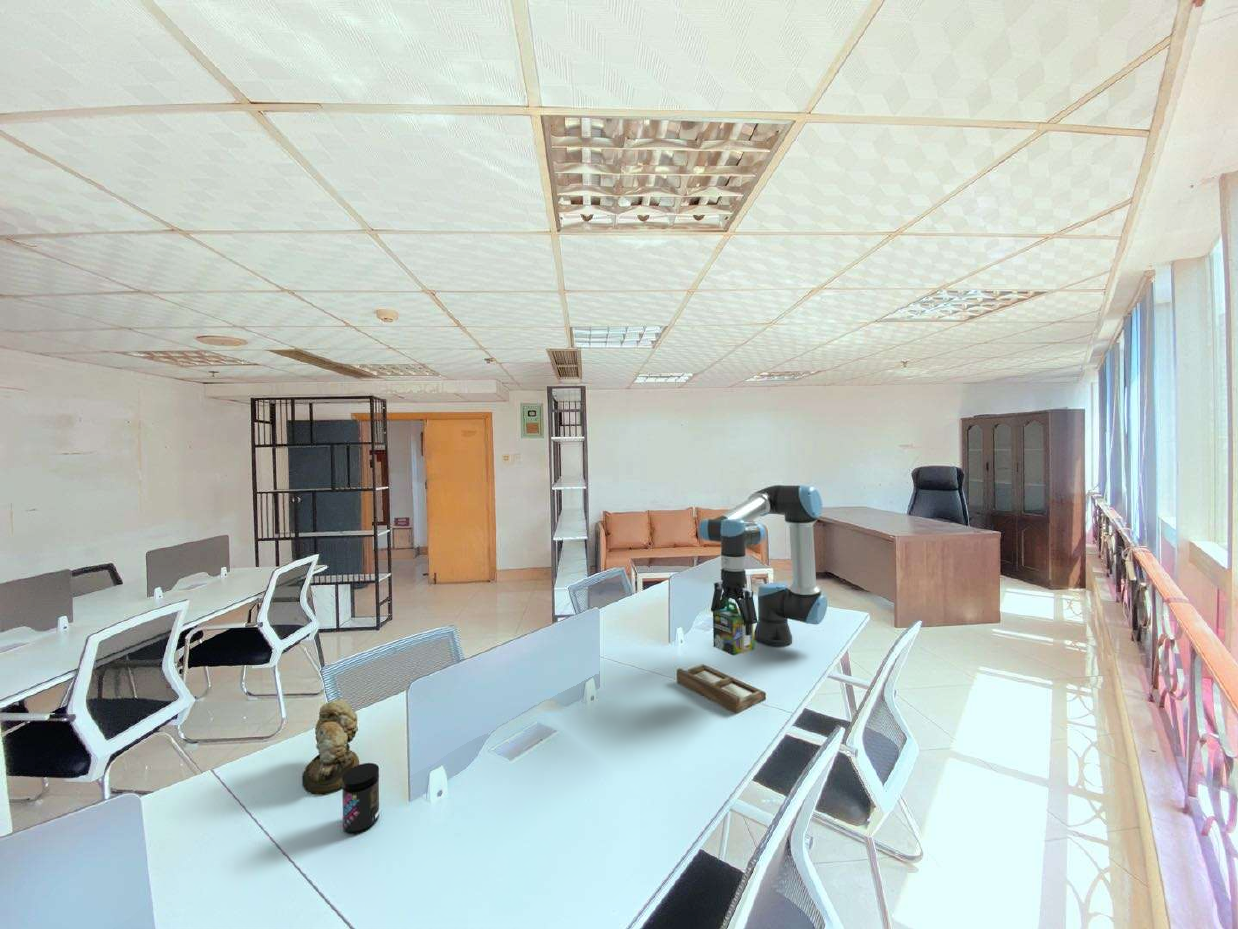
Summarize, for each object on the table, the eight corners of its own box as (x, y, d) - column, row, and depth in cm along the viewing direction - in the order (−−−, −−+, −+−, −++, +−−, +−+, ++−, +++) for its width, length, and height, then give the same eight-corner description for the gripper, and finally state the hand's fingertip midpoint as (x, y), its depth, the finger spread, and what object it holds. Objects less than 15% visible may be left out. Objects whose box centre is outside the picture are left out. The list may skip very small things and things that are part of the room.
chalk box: (754, 650, 148) (754, 602, 148) (733, 656, 144) (733, 607, 144) (732, 640, 156) (732, 595, 156) (712, 646, 151) (711, 599, 151)
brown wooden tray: (705, 671, 169) (705, 658, 169) (765, 699, 149) (765, 685, 149) (676, 682, 160) (676, 669, 160) (736, 714, 140) (736, 698, 140)
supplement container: (347, 815, 101) (346, 766, 101) (382, 808, 103) (381, 760, 103) (338, 839, 95) (337, 787, 94) (376, 831, 97) (375, 780, 96)
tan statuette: (300, 763, 119) (300, 694, 119) (353, 746, 126) (353, 681, 126) (303, 804, 105) (303, 725, 105) (364, 783, 111) (364, 709, 112)
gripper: (699, 564, 157) (699, 632, 157) (754, 576, 139) (754, 654, 139) (714, 561, 161) (715, 628, 161) (770, 573, 143) (770, 648, 143)
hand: (733, 640), depth 150 cm, fingers closed on chalk box, 9 cm apart
